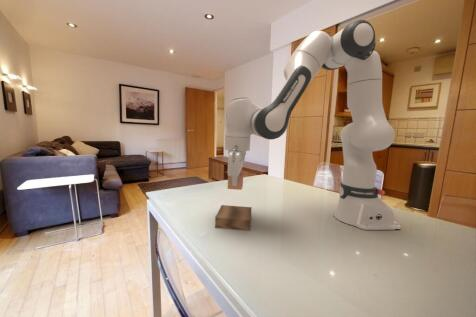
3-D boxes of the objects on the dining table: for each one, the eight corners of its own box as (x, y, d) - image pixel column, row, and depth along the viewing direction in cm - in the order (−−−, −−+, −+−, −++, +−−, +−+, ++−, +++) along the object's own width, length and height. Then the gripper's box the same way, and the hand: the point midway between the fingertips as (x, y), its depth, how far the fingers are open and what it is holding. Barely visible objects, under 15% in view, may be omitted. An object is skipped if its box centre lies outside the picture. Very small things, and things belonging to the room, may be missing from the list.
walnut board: (251, 216, 82) (251, 207, 81) (249, 231, 70) (250, 220, 69) (221, 214, 83) (221, 205, 82) (215, 228, 71) (215, 217, 71)
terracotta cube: (242, 186, 77) (243, 173, 76) (241, 189, 72) (242, 175, 71) (229, 185, 77) (230, 172, 77) (227, 188, 72) (228, 175, 72)
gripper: (244, 147, 62) (242, 192, 64) (247, 143, 82) (246, 177, 84) (223, 146, 63) (222, 190, 65) (232, 143, 83) (230, 176, 85)
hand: (235, 183), depth 74 cm, fingers closed on terracotta cube, 5 cm apart
